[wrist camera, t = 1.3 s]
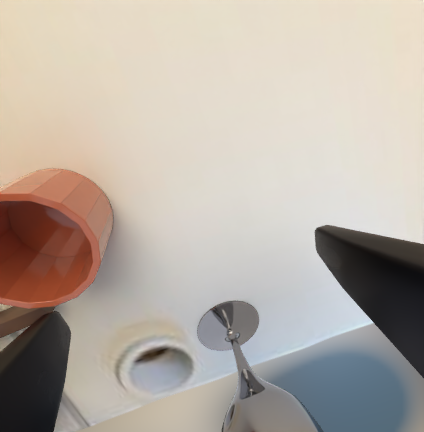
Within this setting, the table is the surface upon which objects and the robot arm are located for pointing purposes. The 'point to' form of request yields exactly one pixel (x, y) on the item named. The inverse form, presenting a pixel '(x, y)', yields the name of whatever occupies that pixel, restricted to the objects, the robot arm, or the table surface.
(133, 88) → the table surface
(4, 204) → the cup
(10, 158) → the table surface
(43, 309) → the cup stop
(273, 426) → the wine glass
